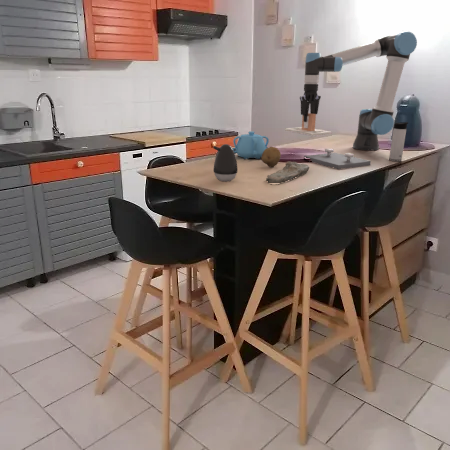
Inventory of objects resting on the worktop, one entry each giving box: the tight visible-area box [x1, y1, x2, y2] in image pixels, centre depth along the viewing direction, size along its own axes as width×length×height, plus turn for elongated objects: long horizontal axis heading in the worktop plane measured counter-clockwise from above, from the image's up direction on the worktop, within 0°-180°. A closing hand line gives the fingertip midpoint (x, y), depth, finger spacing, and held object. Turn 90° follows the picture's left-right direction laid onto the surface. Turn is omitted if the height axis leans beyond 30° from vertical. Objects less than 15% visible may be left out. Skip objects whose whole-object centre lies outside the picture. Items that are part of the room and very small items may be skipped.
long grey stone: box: [265, 161, 310, 184], centre depth 193 cm, size 35×5×10 cm
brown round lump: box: [261, 146, 282, 168], centre depth 208 cm, size 9×9×10 cm
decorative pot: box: [232, 131, 270, 160], centre depth 230 cm, size 16×16×14 cm
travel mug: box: [388, 121, 409, 162], centre depth 228 cm, size 6×7×20 cm
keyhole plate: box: [285, 112, 333, 137], centre depth 242 cm, size 14×23×10 cm, turn 31°
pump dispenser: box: [212, 143, 238, 182], centre depth 183 cm, size 10×10×15 cm
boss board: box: [303, 148, 372, 170], centre depth 223 cm, size 22×25×5 cm
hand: (308, 127), depth 243 cm, fingers closed on keyhole plate, 3 cm apart
